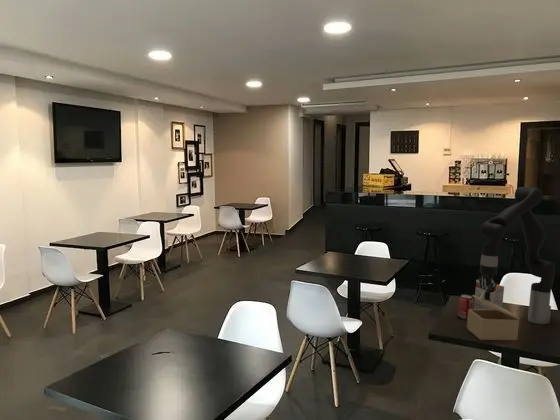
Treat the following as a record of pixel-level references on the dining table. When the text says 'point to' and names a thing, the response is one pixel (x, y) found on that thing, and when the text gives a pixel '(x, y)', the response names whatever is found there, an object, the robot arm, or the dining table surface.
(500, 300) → the cracker box
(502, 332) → the carton
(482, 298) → the lid flap
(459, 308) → the soda can
